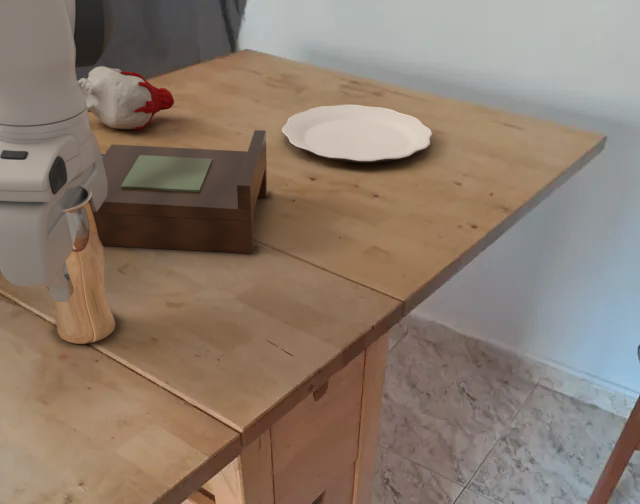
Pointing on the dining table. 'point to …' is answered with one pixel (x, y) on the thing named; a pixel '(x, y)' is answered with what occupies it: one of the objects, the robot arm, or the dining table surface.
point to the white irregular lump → (123, 98)
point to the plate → (357, 133)
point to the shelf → (183, 197)
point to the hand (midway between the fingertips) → (75, 278)
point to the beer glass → (85, 279)
